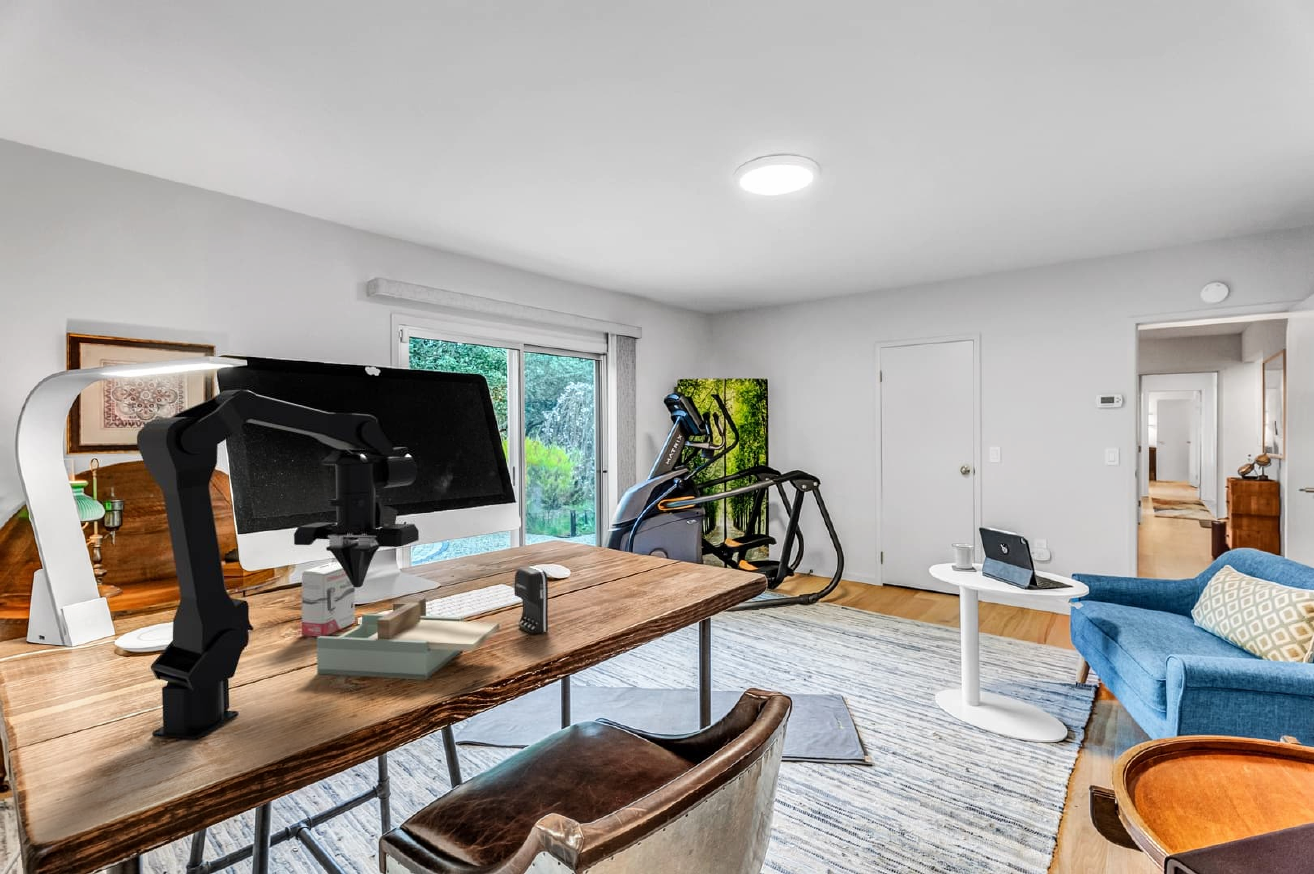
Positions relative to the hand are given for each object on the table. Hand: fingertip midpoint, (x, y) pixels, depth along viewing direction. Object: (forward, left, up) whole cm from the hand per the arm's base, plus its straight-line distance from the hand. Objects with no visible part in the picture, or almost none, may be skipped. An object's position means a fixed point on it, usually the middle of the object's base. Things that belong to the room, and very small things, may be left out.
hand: (358, 586), depth 100 cm
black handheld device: (+17, -23, -12) cm, 31 cm away
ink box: (+13, +15, -12) cm, 23 cm away
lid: (0, -13, -8) cm, 15 cm away
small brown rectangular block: (+10, -3, -12) cm, 16 cm away
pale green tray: (0, -6, -12) cm, 13 cm away
